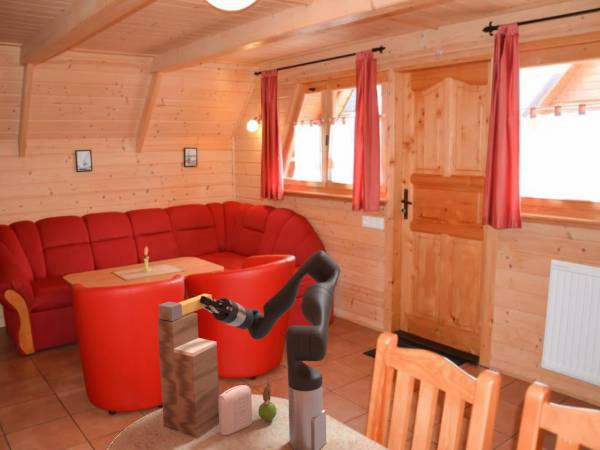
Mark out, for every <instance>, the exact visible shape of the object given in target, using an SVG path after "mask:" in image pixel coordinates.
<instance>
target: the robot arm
mask: <svg viewBox="0 0 600 450" xmlns="http://www.w3.org/2000/svg"><path fill="white" fill-rule="evenodd" d="M340 272H341V269H340V266H339V265H338V263H336V261H334V260H333V258H332V257H330V255H329V254H328V253H326V252H325V251H324V250H321V249H319V250H317V251H315V252H314V253H313V254H311V255H310V256H309V257H308V258H307V259H306V260H305V261H304V262H303V263H302V264H301V266H300V267H299V268H298V269H297V270H296V271H295V272H294V274H292V276H291V277H290V278H289V279H288V280H287V282H285V284H284V285H283V286H282V287H281V288H280V289H279V290H278V291H277V292H276V293H275V294H274V295H273V296H271V297H270V298H269V299H268V300H267V301H266V302H265V303H264V304H263V306H262V309H263V312H262V311H261V310H260V309H258V308H246V307H244V306H242V305H241V304H239V303H238V302H236V301H233V300H232V299H229V298H226V297H222V298H219V299H216V298H215V299H214V298H212V299H210V298H207V297H205V296H201V298H200V303H202V304H204V305H207V306H206V307H204V308H202V309H204V310H205V311H207V312H209V313H212V316H213V318H214V320H216V321H217V322H220V323H223V324H226V325H228V326H231V327H232V326H233V327H234V328H238V329H240V330H247V331H248V333H249V336H250V337H251V338H252V339H253V340H257V341H258V340H262V339H264V338H266V337H267V336H268V335H269V333H270V332H271V331H272V329H273V328H274V326H275V325H276V323H277V322H278V320H279V319H280V318H281V317H282V316H283V315H284V314H285V313H286V312H288V311H289V310H290V309H291V307H293V306H294V304H295V302H296V300H297V295H298V292H299V288H300V285H301V283H302V281H303V279H304V278H305V277H306V276H307V275H309V276H310V277H311V279H312V280H313V281H315V283H312V284H311V285H308V287H307V288H306V289H305V291H304V292H303V295H302V299H301V303H300V310H301V313H302V316H303V317H304V318H305V320H307V322H308V323H309V324H310V325H302V324H301V325H300V324H298V325H296V324H295V325H290V326H288V328H287V330H286V335H285V350H286V351H285V352H286V353H285V354H286V363H287V383H288V384H287V387H288V389H287V391H288V421H289V422H288V425H289V426H288V430H289V432H288V434H289V446H290V448H291V449H292V450H320V449H321V448H323V447H324V446H325V444H327V411H326V410H325V409H324V405H323V404H324V403H323V398H324V397H323V396H324V395H323V392H324V391H323V390H324V389H323V375H322V372H321V371H319V369H317V368H315V367H313V366H310V365H308V364H306V363H305V362H321V361H322V360H324V359H325V357H326V354H327V350H328V341H329V340H328V339H329V324H330V318H331V314H332V309H333V302H334V294H335V289H336V286H337V282H338V279H339V278H340V277H339V276H340ZM196 296H198V295H197V294H194V293H193V294H192V295H191V298H194V297H196ZM191 298H190V299H191Z"/></svg>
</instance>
